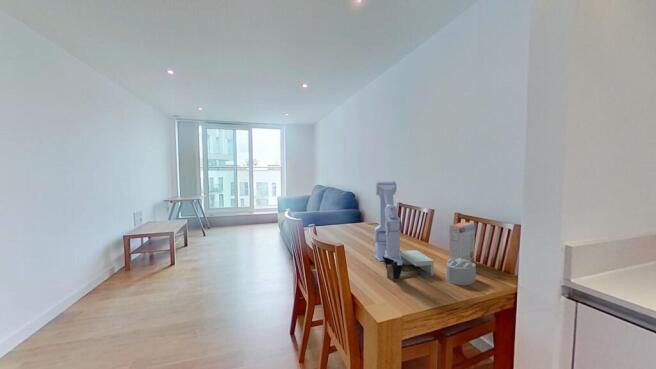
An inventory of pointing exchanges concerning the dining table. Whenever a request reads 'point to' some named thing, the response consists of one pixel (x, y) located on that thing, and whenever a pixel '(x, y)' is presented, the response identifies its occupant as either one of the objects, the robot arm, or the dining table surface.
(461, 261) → the lumpy-topped squat cylinder
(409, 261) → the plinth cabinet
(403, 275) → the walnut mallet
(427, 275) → the grey square block
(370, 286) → the dining table surface
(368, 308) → the dining table surface
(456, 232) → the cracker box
